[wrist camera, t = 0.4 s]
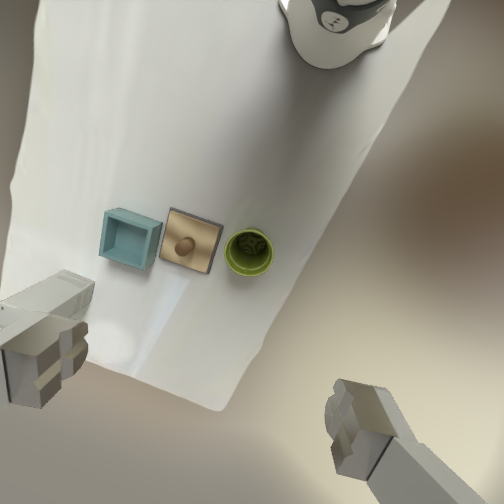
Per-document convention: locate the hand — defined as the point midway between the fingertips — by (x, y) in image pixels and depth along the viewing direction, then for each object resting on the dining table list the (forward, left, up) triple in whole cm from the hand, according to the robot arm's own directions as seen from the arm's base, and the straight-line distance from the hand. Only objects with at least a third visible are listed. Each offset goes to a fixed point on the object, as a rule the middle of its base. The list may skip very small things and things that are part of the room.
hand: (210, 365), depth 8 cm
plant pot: (+9, +1, -46) cm, 46 cm away
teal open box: (+17, -24, -45) cm, 54 cm away
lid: (+14, -12, -45) cm, 48 cm away
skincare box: (+35, -36, -46) cm, 67 cm away
